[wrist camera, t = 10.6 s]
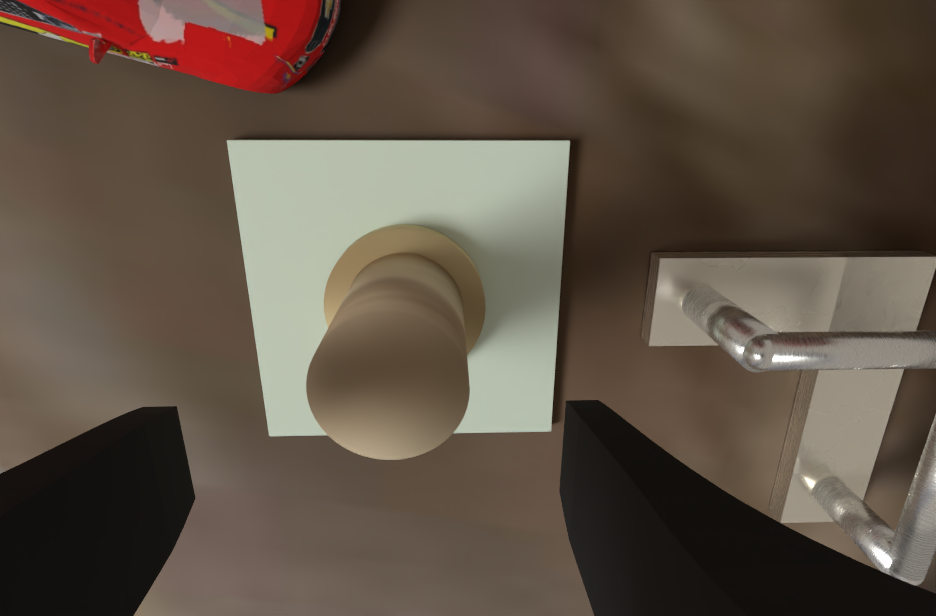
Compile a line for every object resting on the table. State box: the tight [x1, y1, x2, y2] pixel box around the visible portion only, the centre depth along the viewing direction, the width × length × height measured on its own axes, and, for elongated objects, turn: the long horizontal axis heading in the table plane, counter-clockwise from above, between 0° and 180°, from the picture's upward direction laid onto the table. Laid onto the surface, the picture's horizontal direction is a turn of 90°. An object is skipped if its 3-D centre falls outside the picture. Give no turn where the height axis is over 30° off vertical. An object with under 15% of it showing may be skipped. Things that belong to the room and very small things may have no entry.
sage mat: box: [227, 139, 570, 436], centre depth 18 cm, size 10×10×1 cm
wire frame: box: [641, 251, 936, 586], centre depth 18 cm, size 10×9×5 cm
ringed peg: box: [306, 224, 486, 460], centre depth 15 cm, size 5×5×6 cm
